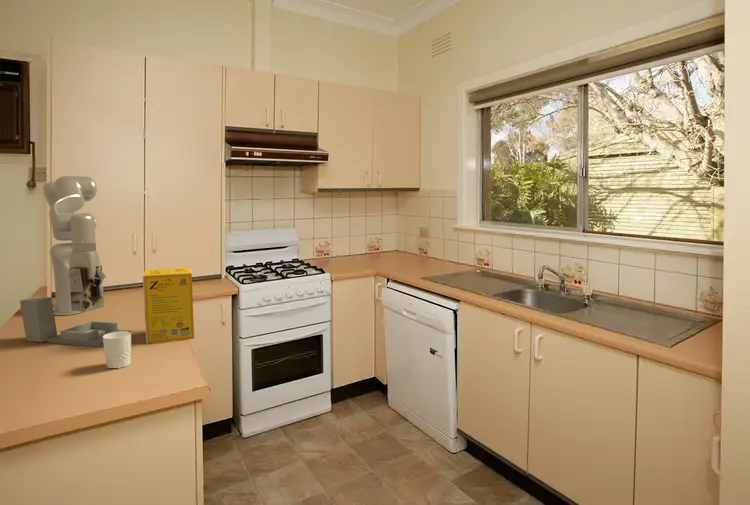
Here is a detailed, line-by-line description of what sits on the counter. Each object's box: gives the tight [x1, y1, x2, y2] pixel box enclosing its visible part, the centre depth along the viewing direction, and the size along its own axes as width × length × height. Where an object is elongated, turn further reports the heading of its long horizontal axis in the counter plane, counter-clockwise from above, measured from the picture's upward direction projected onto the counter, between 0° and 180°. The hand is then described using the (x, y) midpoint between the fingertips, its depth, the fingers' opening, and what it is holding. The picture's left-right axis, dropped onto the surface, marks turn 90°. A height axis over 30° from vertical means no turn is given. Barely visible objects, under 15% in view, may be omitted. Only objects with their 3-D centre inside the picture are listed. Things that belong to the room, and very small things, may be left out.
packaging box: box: [142, 266, 195, 344], centre depth 179 cm, size 16×16×25 cm
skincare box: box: [19, 296, 58, 343], centre depth 172 cm, size 8×7×16 cm
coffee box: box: [69, 264, 105, 313], centre depth 173 cm, size 9×6×16 cm
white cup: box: [102, 330, 132, 369], centre depth 148 cm, size 8×8×10 cm
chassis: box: [46, 320, 132, 347], centre depth 176 cm, size 22×16×4 cm
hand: (87, 295), depth 174 cm, fingers closed on coffee box, 6 cm apart
